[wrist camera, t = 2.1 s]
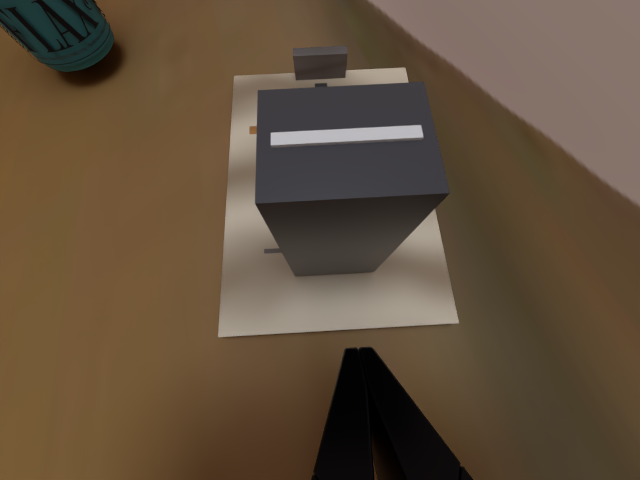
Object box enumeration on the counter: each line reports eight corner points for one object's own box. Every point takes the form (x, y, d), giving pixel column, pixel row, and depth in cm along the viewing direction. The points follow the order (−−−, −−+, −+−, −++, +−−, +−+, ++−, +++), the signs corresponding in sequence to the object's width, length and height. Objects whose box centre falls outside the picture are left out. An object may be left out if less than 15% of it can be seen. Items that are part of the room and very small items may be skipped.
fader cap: (374, 272, 16) (451, 190, 6) (295, 276, 16) (253, 201, 6) (367, 217, 17) (425, 78, 7) (293, 221, 17) (256, 87, 7)
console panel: (450, 323, 16) (478, 322, 13) (224, 336, 16) (203, 338, 13) (401, 78, 22) (413, 42, 20) (237, 86, 22) (225, 51, 19)
